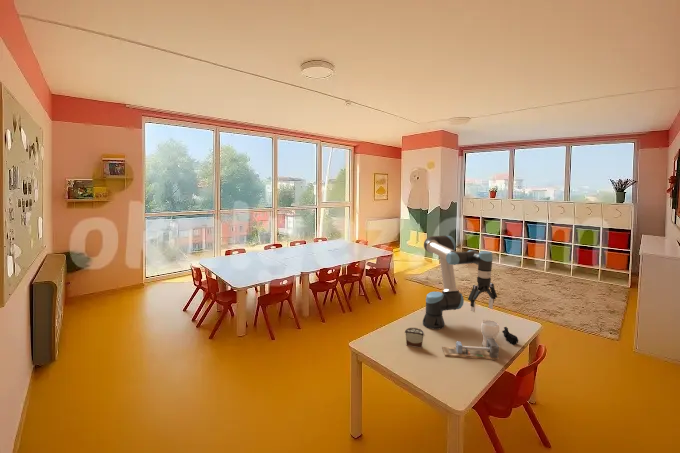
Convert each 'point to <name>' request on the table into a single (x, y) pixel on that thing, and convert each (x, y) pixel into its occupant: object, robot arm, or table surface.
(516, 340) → the toy
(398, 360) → the table surface
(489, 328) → the cup
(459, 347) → the grey hammer
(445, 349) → the gauge bed
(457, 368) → the table surface
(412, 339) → the food container
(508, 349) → the table surface
